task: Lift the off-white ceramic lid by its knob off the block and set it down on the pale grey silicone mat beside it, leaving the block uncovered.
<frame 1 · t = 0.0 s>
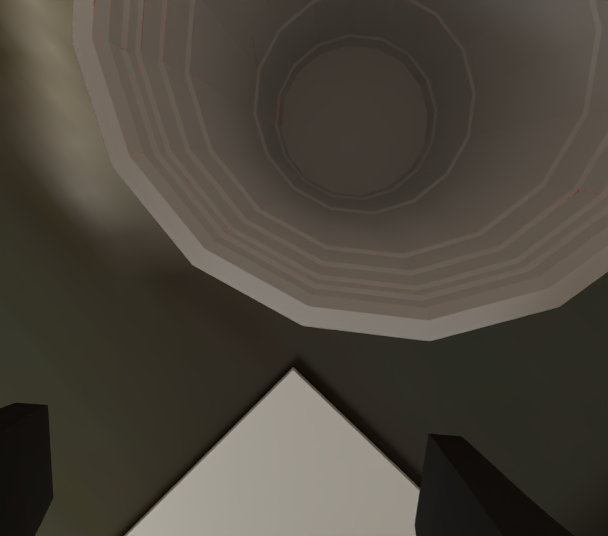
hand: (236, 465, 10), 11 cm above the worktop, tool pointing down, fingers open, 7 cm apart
plastic cup: (347, 123, 20), on the worktop
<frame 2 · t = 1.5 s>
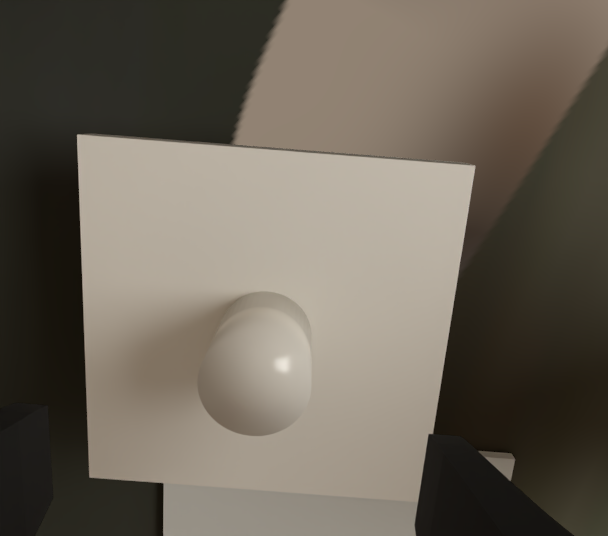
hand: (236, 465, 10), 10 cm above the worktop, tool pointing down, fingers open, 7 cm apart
lid: (268, 323, 17), point 3 cm above the worktop, touching block
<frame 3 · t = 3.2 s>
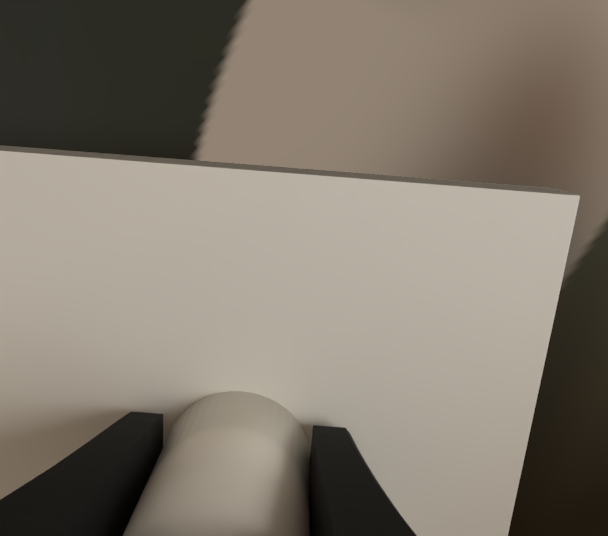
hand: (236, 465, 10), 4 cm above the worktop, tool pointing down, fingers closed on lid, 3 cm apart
lid: (244, 427, 11), point 3 cm above the worktop, touching block, gripper
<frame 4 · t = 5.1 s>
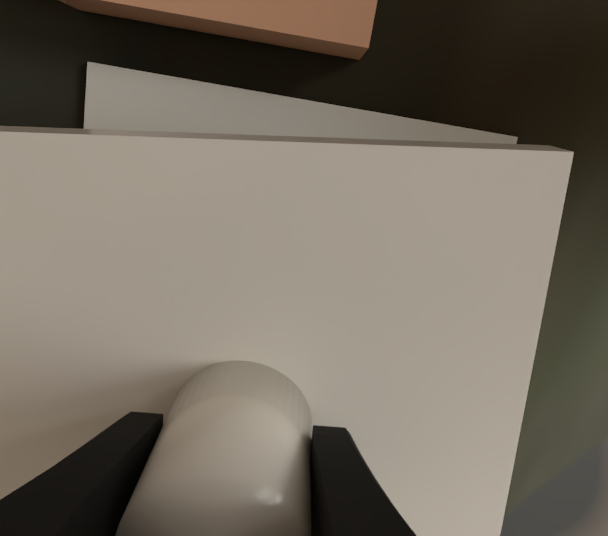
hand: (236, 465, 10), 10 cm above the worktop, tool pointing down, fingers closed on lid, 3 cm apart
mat: (273, 299, 19), on the worktop
lid: (247, 395, 12), point 8 cm above the worktop, touching gripper
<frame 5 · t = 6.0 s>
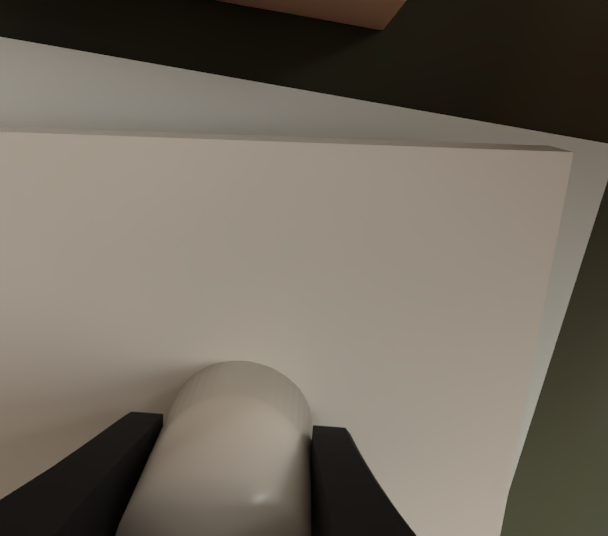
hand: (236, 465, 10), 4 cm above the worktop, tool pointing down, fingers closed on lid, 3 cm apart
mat: (257, 374, 14), on the worktop
lid: (247, 395, 12), point 2 cm above the worktop, touching gripper
when the fingers open (3 cm above the worktop, at t = 6.9 s): lid stays where it is, resting on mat.
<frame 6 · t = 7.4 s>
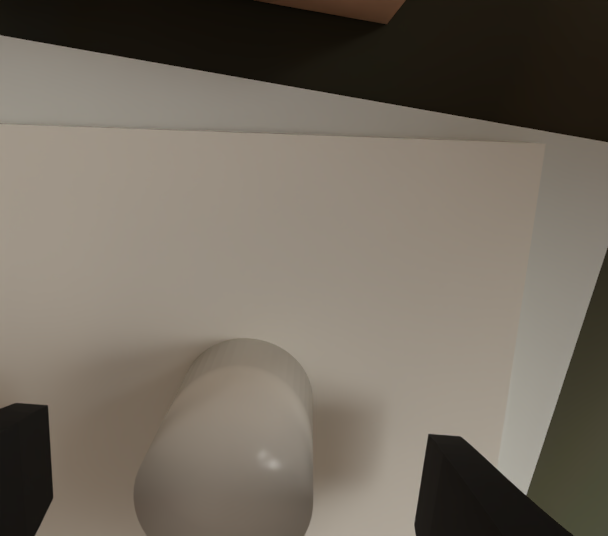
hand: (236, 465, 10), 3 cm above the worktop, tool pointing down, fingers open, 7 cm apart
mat: (252, 390, 13), on the worktop
lid: (252, 377, 12), resting on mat
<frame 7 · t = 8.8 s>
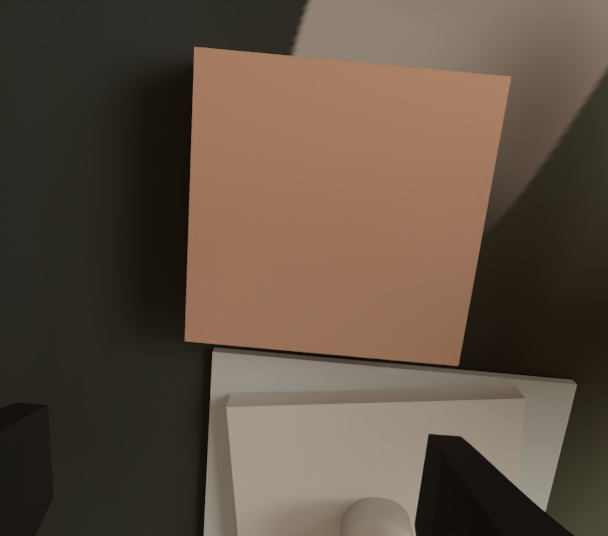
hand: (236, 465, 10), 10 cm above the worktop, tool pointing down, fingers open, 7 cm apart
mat: (371, 514, 23), on the worktop
lid: (373, 509, 22), resting on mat
block: (332, 203, 19), on the worktop
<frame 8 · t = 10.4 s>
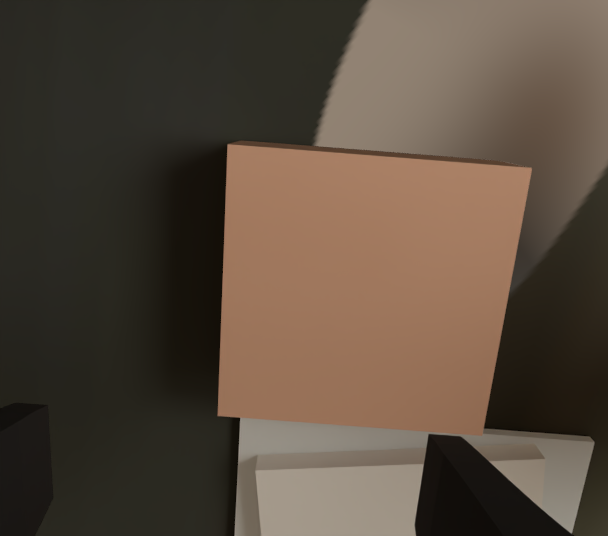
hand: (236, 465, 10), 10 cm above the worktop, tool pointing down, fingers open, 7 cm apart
block: (356, 274, 20), on the worktop
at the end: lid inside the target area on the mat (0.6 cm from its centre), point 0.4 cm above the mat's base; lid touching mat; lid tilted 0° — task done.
